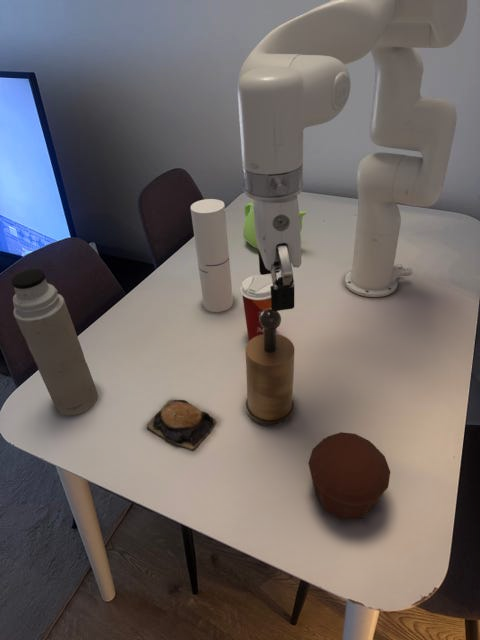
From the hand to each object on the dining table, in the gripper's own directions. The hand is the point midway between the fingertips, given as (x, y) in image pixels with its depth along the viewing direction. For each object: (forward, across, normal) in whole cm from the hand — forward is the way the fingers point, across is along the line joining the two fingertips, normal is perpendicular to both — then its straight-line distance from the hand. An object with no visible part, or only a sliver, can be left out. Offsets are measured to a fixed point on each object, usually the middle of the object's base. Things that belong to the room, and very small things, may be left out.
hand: (276, 289), depth 69 cm
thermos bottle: (+25, +8, +38) cm, 46 cm away
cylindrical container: (+26, +34, +8) cm, 44 cm away
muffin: (+25, -20, -6) cm, 33 cm away
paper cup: (+26, +20, 0) cm, 32 cm away
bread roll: (+25, -2, +18) cm, 31 cm away
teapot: (+26, +60, -11) cm, 67 cm away
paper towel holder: (+25, 0, +2) cm, 25 cm away
